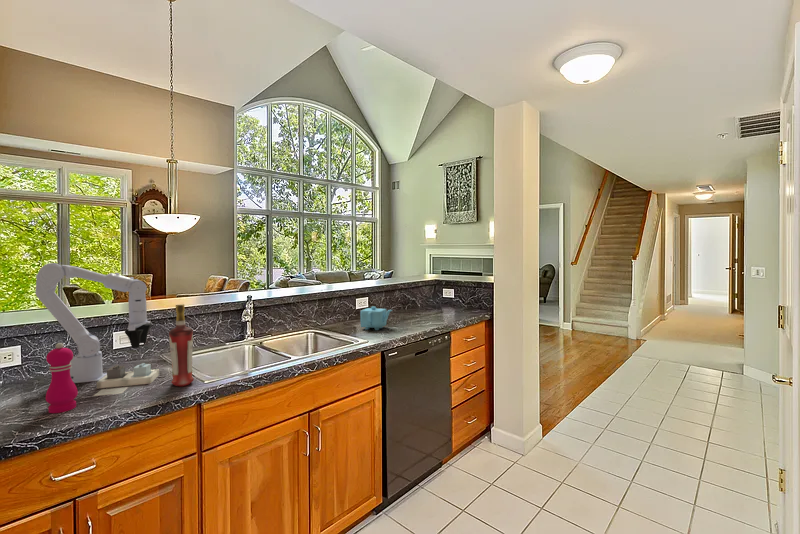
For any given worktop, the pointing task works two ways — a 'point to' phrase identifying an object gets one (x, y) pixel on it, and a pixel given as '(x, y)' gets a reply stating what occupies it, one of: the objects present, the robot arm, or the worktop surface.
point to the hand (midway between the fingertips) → (139, 345)
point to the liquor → (181, 350)
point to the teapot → (374, 318)
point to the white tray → (124, 378)
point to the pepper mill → (61, 381)
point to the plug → (142, 370)
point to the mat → (111, 391)
